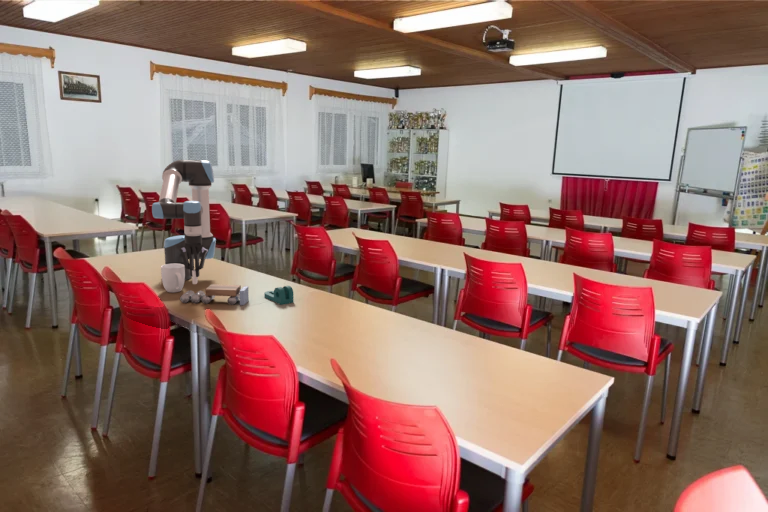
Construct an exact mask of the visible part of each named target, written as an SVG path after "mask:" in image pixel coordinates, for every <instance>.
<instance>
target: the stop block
mask: <svg viewBox="0 0 768 512" xmlns="http://www.w3.org/2000/svg"><path fill="white" fill-rule="evenodd" d="M239 294H240V299H239V306H245V305H246V304H247V303H248V302H249V286H248V285H247V286H246V285H245V286H243V287H241V290H240V293H239Z"/></svg>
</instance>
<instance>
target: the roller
mask: <svg viewBox="0 0 768 512" xmlns="http://www.w3.org/2000/svg"><path fill="white" fill-rule="evenodd" d="M239 301H240V293H239V294H238V295H237V296H228V298H227V303H228V305H229V306H234V305H235V304H236V303H237V302H239Z"/></svg>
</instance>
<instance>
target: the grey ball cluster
mask: <svg viewBox="0 0 768 512" xmlns="http://www.w3.org/2000/svg"><path fill="white" fill-rule="evenodd" d="M215 297H216V296H209V295H205V291H204V290H198V291H197V292H196V293H195V291H193V290H190V289H189V290H187V291H186V292H185V293H183V294H182V295H181V296H180V298H179V301H180V302H181V303H182V304H186V303H189V301H190V302H191V304H192V303H193V304H198V303H200V302H202V303H203V304H204V305H207V304H209V303H210V302H212V301H213V300H214V299H215Z"/></svg>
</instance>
